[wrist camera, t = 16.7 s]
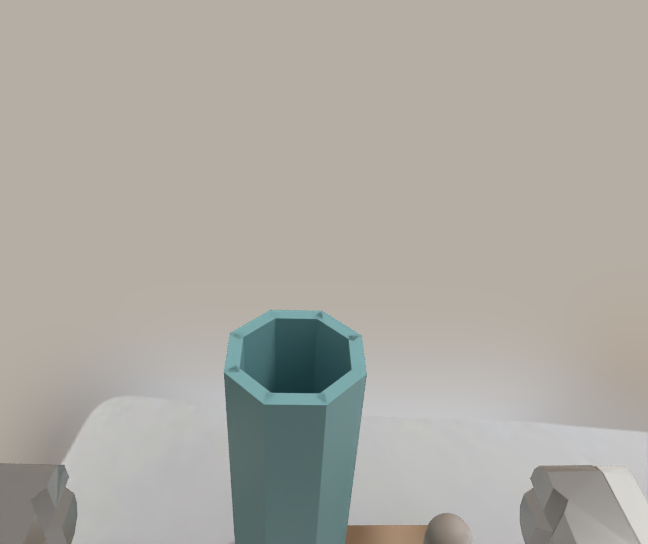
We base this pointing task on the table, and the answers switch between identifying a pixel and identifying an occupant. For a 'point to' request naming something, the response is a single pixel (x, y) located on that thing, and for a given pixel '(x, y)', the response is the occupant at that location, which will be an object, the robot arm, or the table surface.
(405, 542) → the pin board
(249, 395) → the sleeve
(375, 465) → the table surface
